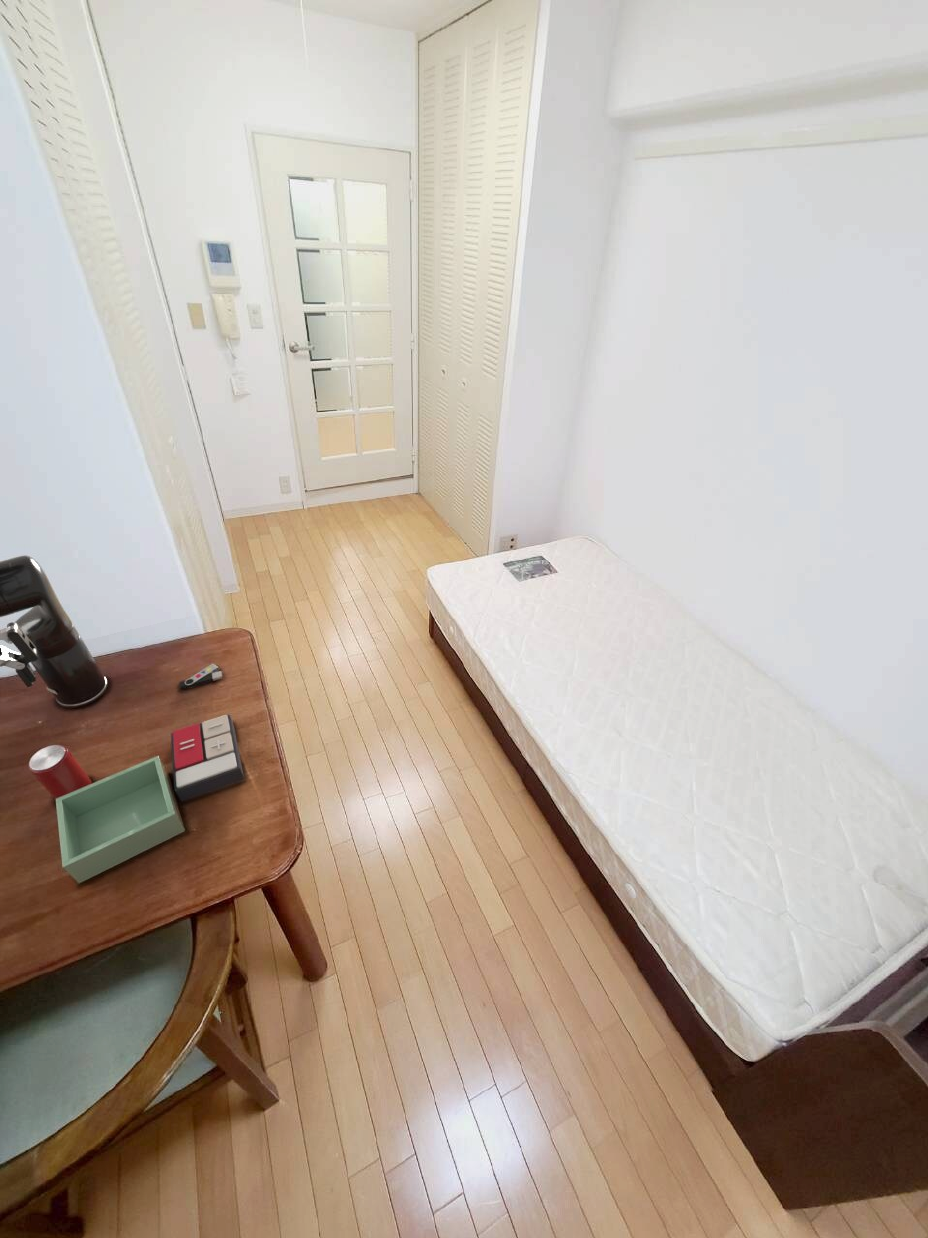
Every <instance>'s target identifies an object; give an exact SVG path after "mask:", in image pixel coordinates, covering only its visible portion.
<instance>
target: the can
mask: <svg viewBox="0 0 928 1238" xmlns="http://www.w3.org/2000/svg"><path fill="white" fill-rule="evenodd" d="M27 767H28V769H29V771H30V772H31V773H32V775H33V776H34V777H35V778H36V779H37V780H38V782H39V783H40V784H41V785H42V786H43V787H44V788H45V790H46V791H47V792H48V793H49V794H50V795H51V796H52V798H53V799H54V800H55V801H56V799H57V798H59V797H62V796H64V795H66V794H69V793H71V792H73V791H76V790H78V789H81V788H83V787H85V786H88V785H90V784H92V783H93V782H92V780H91V778H90V777H89V775H88V774H87V773H86V771H85V770H84V768H83V767H82V766H81V765H80V763H78V761H77V759H76V758H75V757H74V756H73V754H72V753H71V751H69V749H68V748H67V747H66V746H65V745H62V744H52V745H48V746H46V747H43V748H41V749H40V750H38V751H36V753H34V754H33V755H32V757H31V758H30V759H29V761H28V763H27Z"/></svg>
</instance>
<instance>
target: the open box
mask: <svg viewBox="0 0 928 1238" xmlns="http://www.w3.org/2000/svg"><path fill="white" fill-rule="evenodd" d="M55 805H56V816H57V824H58V825H57V826H58V835H59V845H60V855H61V867H62V869H64V870H65V872H67V874H68V875H69V876H71V877H72V878H73V880H75V882H77V884H81V883H84V882H85V881H87V880H89V879H91V878H93V877H95V876H97V875H99V874H101V873H103V872H105V871H107V870H109V869H112V868H113V867H116V866H118V865H119V864H121V863H123V862H125V861H127V860H129V859H131V858H133V857H135V856H137V855H139V854H141V853H143V852H145V851H147V850H149V849H151V848H154V847H156V846H158V845H159V844H161V843H163V842H165V841H168V840H170V839H171V838H173V837H176V836H177V835H180V834H182V833H185V831H186V829H185V825H184V822H183V819H182V816H181V813H180V808H179V806H178V802H177V799H176V795H175V790H174V787H173V783H172V781H171V777H170V774H169V772H168V770H167V768H166V767H165V765H164V763H163V761H162V760H161V758H160V756H159V755H156V756H153V757H152V758H149V759H147V760H144V761H142V762H139V763H138V764H135V765H132V766H131V767H128V768H125V769H124V770H121V771H118V772H116V773H114V774H111V775H109V776H106V777H104V778H102V779H99V780H98V781H95V782H92V784H90V785H88V786H85V787H83V788H81V789H78V790H76V791H73V792H71V793H69V794H66V795H64V796H62V797H59V798H57V799H56V800H55Z"/></svg>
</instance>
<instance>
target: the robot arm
mask: <svg viewBox="0 0 928 1238" xmlns="http://www.w3.org/2000/svg"><path fill="white" fill-rule="evenodd" d="M26 610H27V612H25V613H24V614H22V615H21V616H20V617H19V618H17V619H16V620H15V621H13V622H12V621H11V622H9V623H7V625H6V627H5V628H2V629H0V641H3V642H5V643H7V644H9V645H12V644H13V645H14V646H15V648H16V649H17V650H18V651H19V652H17V651H14V650H11V649H9V648H8V647H6V646H5V645H0V667H1V668H2V667H7V668H11V669H14V670H15V673H16V674H17V675H18V677H19V678H20V680H21V681H22V682H23V684H24V685H25V686H26V688H31V687H33V686H35V684H34V683H35V682H36V681H37V680H36V678H37V677H36V673H38V675H39V677H40V678H41V680H42V681H43V682H44V684H45V685H46V686H45V688H46V690H47V691H48V692H50V693H51V694H52V695H53V697H54V698H55V700H56V702H57V704H58V705H59V706H60V707H62V708H66V709H79V708H82V707H85V706H89V705H90V704H93V703H94V702H96V701H97V700H99V699H100V698H101V697H103V696H104V694H106V692H107V690H108V688H109V681H108V680H107V678H106V676H104V674H103V672H102V671H101V669H100V667H99V666H98V664H97V662H96V660H95V658H94V656H93V655H92V653H91V651H90V650H89V648H88V646H87V645H86V643H85V642H84V640H83V639H82V637H81V635H80V633H79V632H78V630H77V629H76V627H75V624H74V623H73V621H72V620H71V618H70V616H69V614H68V613H67V612H66V610H65V608H64V607H63V605H62V603H61V602H60V600H59V598H58V596H57V594H56V592H55V590H54V588H53V586H52V584H51V582H50V579H49V578H48V576H47V574H46V572H45V570H44V569H43V567H42V566H41V565H40V563H39V562H38V560H36V559H35V558H34V557H32V556H30V555H27V554H25V555H19V556H16V557H11V558H9V559H5V560H1V561H0V618H4V617H6V616H10V615H13V614H15V613H20V612H22V611H26ZM31 665H32V666H31ZM32 667H33V668H34V669H33V668H32ZM35 671H36V672H35Z"/></svg>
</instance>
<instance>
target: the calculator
mask: <svg viewBox="0 0 928 1238" xmlns="http://www.w3.org/2000/svg"><path fill="white" fill-rule="evenodd" d="M170 739H171V741H170V742H171V754H172V755H171V757H172V769H173V770H172V771H173V772H172V774H173V791H174V793H175V794H176V796H177V797H178V799H179V801H180V802H184V801H187V800H191V799H194V798H196V797H199V796H202V795H205V794H208V793H210V792H213V791H216V790H219V789H221V788H223V787H227V786H229V785H233V784H236V783H237V782H241V781H243V780H244V779H245V774H244V770H243V766H242V765H243V764H242V761H241V756H240V751H239V750H240V749H239V745H238V740H237V735H236V730H235V724H234V722H233V719H232V716H231V715H230V714H224V715H221V716H217V717H213V718H211V719H208V720H205V721H202V722H200V723H195V724H192V725H189V726H185V727H182V728H178V729H175V730H173V731H172V732H170Z"/></svg>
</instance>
